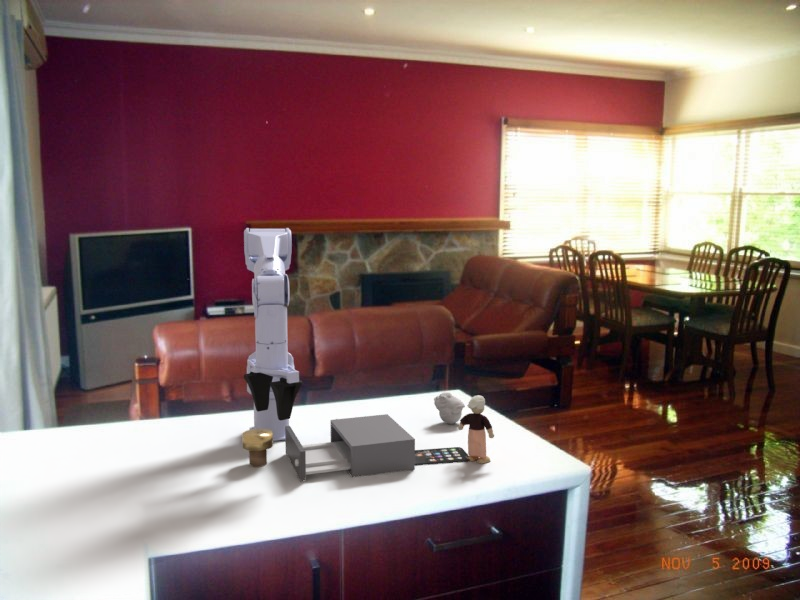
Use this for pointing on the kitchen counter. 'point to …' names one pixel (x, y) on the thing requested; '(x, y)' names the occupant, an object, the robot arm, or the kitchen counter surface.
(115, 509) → the kitchen counter surface
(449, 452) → the smartphone
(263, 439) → the disc
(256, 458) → the brown domed cylinder
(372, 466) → the housing
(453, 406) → the grey rounded lumpy piece
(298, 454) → the tray
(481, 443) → the grandmother figurine
